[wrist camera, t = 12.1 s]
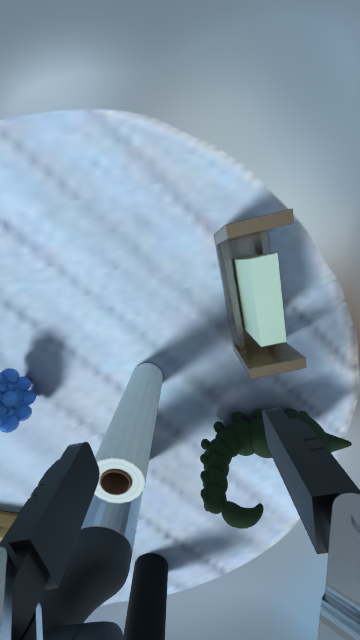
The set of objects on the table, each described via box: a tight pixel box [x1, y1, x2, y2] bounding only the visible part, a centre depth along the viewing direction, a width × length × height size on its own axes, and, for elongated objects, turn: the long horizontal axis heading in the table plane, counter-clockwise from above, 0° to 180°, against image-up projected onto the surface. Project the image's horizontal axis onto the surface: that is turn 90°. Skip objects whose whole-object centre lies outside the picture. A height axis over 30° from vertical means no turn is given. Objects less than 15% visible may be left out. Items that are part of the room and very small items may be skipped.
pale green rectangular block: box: [233, 253, 287, 347], centre depth 33 cm, size 12×4×9 cm, turn 13°
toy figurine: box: [200, 409, 352, 528], centre depth 36 cm, size 9×19×25 cm
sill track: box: [214, 209, 306, 379], centre depth 33 cm, size 21×8×10 cm, turn 13°
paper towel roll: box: [94, 363, 163, 503], centre depth 32 cm, size 7×6×21 cm
